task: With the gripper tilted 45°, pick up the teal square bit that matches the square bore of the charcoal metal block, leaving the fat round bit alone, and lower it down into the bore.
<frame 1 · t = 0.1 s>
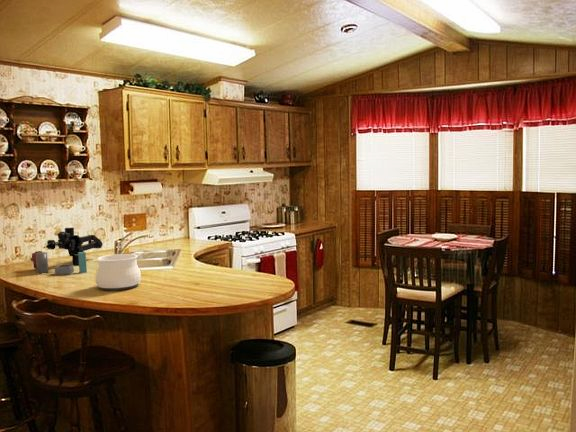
hand: (52, 246, 344), 17 cm above the countertop, tool horizontal, fingers open, 9 cm apart
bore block: (64, 273, 338), on the countertop
mechanical component: (39, 270, 354), on the countertop
square bit: (83, 272, 341), on the countertop
round bit: (42, 273, 342), on the countertop
pot: (119, 287, 297), on the countertop
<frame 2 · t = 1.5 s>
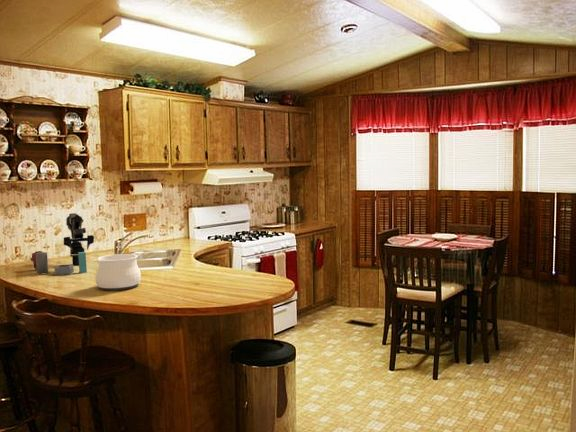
hand: (80, 250, 346), 14 cm above the countertop, tool tilted 45°, fingers open, 9 cm apart
nothing on the countertop moved.
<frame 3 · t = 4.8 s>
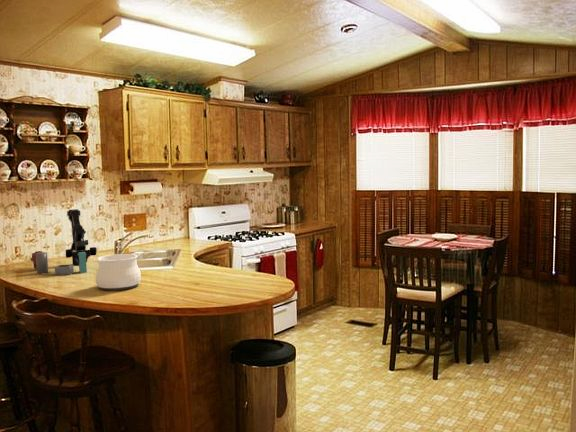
hand: (82, 262, 339), 7 cm above the countertop, tool tilted 45°, fingers closed on square bit, 4 cm apart
square bit: (83, 272, 341), on the countertop, touching gripper
everything else where it was.
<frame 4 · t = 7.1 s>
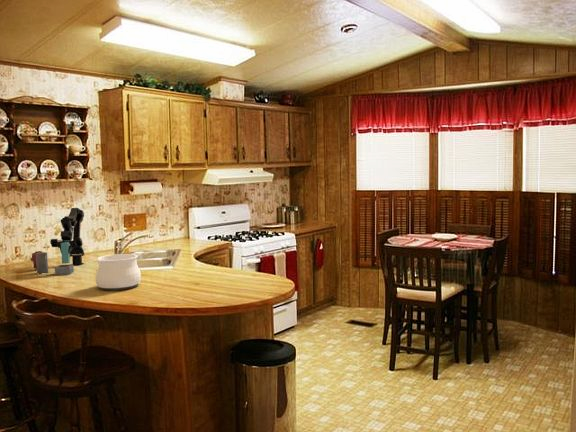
hand: (64, 253, 336), 14 cm above the countertop, tool tilted 45°, fingers closed on square bit, 4 cm apart
square bit: (66, 262, 338), point 7 cm above the countertop, touching gripper
everything else where it was.
when the fingers open (8 cm above the countertop, at t = 9.3 s): square bit drops 1 cm, resting in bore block.
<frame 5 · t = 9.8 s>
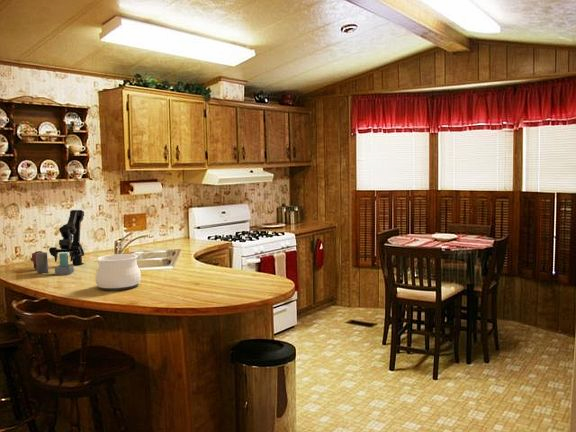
hand: (63, 261, 336), 8 cm above the countertop, tool tilted 45°, fingers open, 9 cm apart
square bit: (64, 273, 338), resting in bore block
everything else where it was.
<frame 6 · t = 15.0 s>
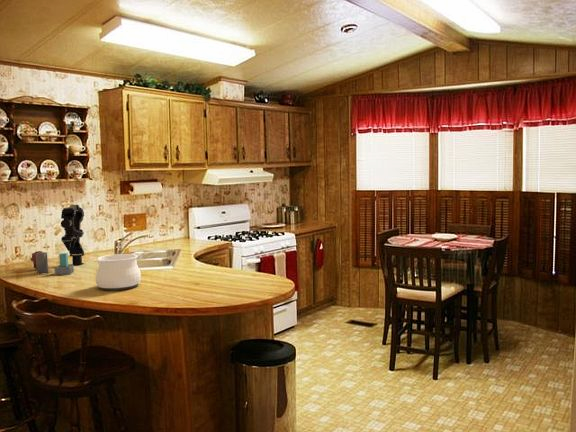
hand: (70, 249, 353), 13 cm above the countertop, tool pointing down, fingers open, 9 cm apart
nothing on the countertop moved.
at the end: square bit 0.1 cm off-centre on the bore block, point 0.0 cm above the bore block's base; square bit tilted 0°; the gripper is holding nothing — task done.
